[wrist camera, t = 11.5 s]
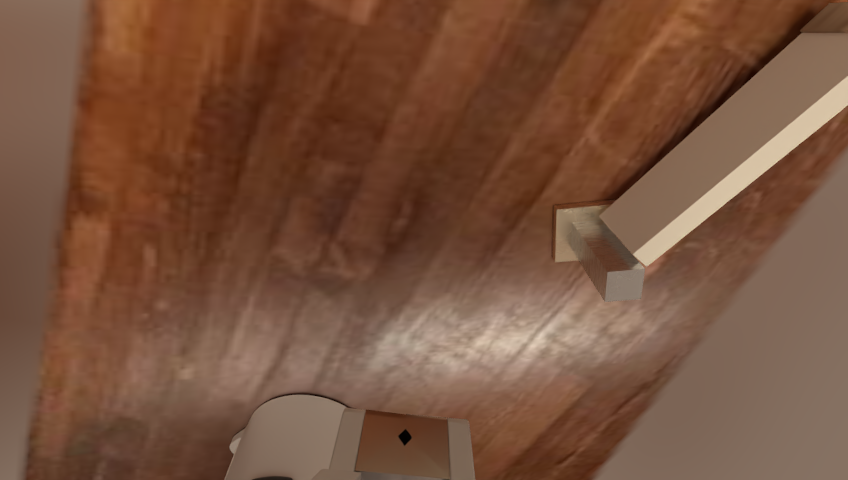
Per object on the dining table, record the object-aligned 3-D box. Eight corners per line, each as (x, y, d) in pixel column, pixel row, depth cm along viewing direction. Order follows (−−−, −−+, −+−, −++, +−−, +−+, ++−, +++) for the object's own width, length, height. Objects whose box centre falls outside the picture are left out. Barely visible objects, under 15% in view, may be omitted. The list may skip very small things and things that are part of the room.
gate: (612, 228, 34) (649, 268, 28) (596, 214, 34) (630, 252, 28) (845, 25, 27) (955, 23, 22) (829, 3, 27) (938, -5, 21)
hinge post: (609, 251, 37) (657, 313, 29) (552, 256, 37) (584, 318, 29) (614, 199, 35) (668, 249, 27) (553, 205, 35) (588, 256, 27)
